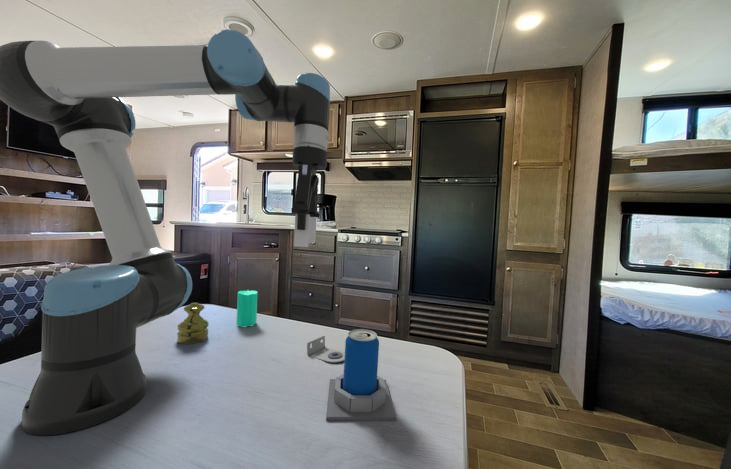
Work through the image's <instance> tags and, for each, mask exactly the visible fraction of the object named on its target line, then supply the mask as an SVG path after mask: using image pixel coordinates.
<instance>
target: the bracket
mask: <svg viewBox="0 0 731 469" xmlns="http://www.w3.org/2000/svg"><path fill="white" fill-rule="evenodd" d="M325 338H326V336H325V335H322V336H319V337H317V338H315V339H312V340H310V341H308V342H307V343H306V353H307V355H310V354H313V353H315V352H317V351H319V350H321V349H323V348H325V347H326V341H325V340H326V339H325ZM313 358H315V359H316V360H319V361H322V362H327V363H332V364H333V363H334V364H335V363H336V364H337V363H341V362H344V360H345V351H343V350H342V351H341V350H337V349H334V348H329V349H328V350H325V351H323V352H321V353H319V355H316V356H314V357H313Z"/></svg>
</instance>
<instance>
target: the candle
mask: <svg viewBox="0 0 731 469" xmlns="http://www.w3.org/2000/svg"><path fill="white" fill-rule="evenodd" d="M258 294H259V291H257V290H239V291H237V300H236V301H237V303H236V304H237V305H236V322H235V323H236V324H237V325H238V326H237V325H236V326H237V327H239V326H250V327H252V326H251V325H253V326H255V325H256V324H257V316H258V298H259V297H258V296H259V295H258ZM255 323H256V324H255ZM254 324H255V325H254Z"/></svg>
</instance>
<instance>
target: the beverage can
mask: <svg viewBox="0 0 731 469" xmlns="http://www.w3.org/2000/svg"><path fill="white" fill-rule="evenodd" d="M379 350H380V340H379V338H378V334H377V333H376V332H375V331H373V330H369V329H366V328H365V329H364V328H360V329H359V328H358V329H357V328H356V329H353V330H350V331H348V333H347V336H346V338H345V346H344V352H345V360H344V361H343V362H344V363H343V374H344V377H343V390H344V391H346V392H348V393H349V394H351V395H365V396H370V395H372V394H373V393H375V392H376V387H377V376H378V370H379V369H378V368H379V354H380V353H379Z"/></svg>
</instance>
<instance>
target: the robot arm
mask: <svg viewBox="0 0 731 469" xmlns="http://www.w3.org/2000/svg"><path fill="white" fill-rule="evenodd" d="M206 95H208V96H209V95H222V96H223V95H224V96H225V95H228V96H229V95H230V96H231V95H232V96H233V95H234V98H235V104H236V109H237V110H238V112H239V115H240V116H241V117H242V118H243V119H246V120H252V121H257V122H276V123H277V122H279V123H282V122H283V123H293V136H292V138H293V139H292V145H293V146H292V147H294V148H293V149H292V166H293V167H295V168H296V169H298V174H297V180H296V181H297V183H296V187H295V188H296V189H295V194H294V196H295V197H294V202H293V207H291V209H290V210H291V214H294V216H295V217H294V238H293V239H294V240H293V247H294V248H295V247H297V248H309V244H316V239H317V238H316V237H317V236H316V235H317V220H318V219H317V218H320V216H321V214H320V212H319V213H318V192H319V182H320V181H319V180H320V179H319V177H318V174H317V171H323V170H325V169H326V168H327V166H328V152H327V150H328V141H331V139H332V138H331V135H329V126H330V125H329V124H330V123H329V122H330V108H331V86H330V83H329V81H328V80H327V79H326V78H325V77H324V76H322V75H320V74H318V73H314V72H305V73H300V74H299V75H298V76H297V77H296V80H295V83H294V84H290V85H288V84H278V83H276V81H275V79H274V78H273V76H272V74H271V73H270V71H269V69H268V68H267V66H266V63H265V61H264V58H263V55H261V53H260V51H259V50H258V49H257V48H256V46H255V45H254V43H253V42H252V41H251V39H250V38H249V37H248V36H247V35H246V34H244V33H243V32H241V31H238V30H236V29H232V28H231V29H230V28H228V29H227V28H226V29H221V31H220V32H218V33H215V34H214V35H212V37H210V39H209V41H208V44H200V45H196V44H195V45H188V44H187V45H142V46H134V45H133V46H130V45H129V46H83V47H82V46H81V47H80V46H79V47H77V46H75V47H68V46H67V47H60V46H58V45H57V44H56V43H52V42H51V41H48V40H19V41H11V42H7V43H5V44H2V45H0V100H1V101H2V102H3V103H4V104H6V106H8V107H9V108H11V109H12V110H14V111H16V113H17V112H18V113H19V114H21V115H24V116H25V117H28V118H31V119H34V120H36V121H39V122H42V123H45V124H48V125H50V126H53V128H54V130H55V133H56V134H57V138H58V140H59V143H60V145H61V146H62V147H63V148H65V149H67V150H69V151H70V152H73V154H74V155H75V158H76V161H77V164H78V166H79V169H80V172H81V175H82V178H83V181H84V183H85V185H86V188H87V191H88V195H89V197H90V200H91V203H92V206H93V208H94V210H95V213H96V216H97V219H98V222H99V225H100V227H101V230H102V233H103V235H104V238H105V241H106V245H107V247H108V250H109V252H110V255H111V261H110V262H109V263H108V265H107V264H106V265H97V266H93V267H92V266H91V267H90V266H88V267H83V268H78V269H73V270H69V271H66V272H62V273H60V274H57V275H56V276H53V277H52V278H50V279H49V280H48V281H47V282H46V284H45V285H44V292H43V293H44V294H43V299H42V300H41V301H42V302H41V305H40V309H41V354H40V355H41V359H40V360H41V362H40V372H39V374H38V376H37V379H36V381H35V382H34V384H33V387H32V389H31V392H30V394H29V397H28V400H27V401H26V402H25V404H24V406H23V409H22V412H21V428H22V430H23V431H24V432H26V433H28V434H30V435H34V436H35V435H36V436H53V435H60V434H61V435H62V434H66V433H73V432H77V431H79V430H83V429H87V428H91V427H93V426H96V425H98V424H101V423H104V422H106V421H109V420H111V419H113V418H115V417H117V416H119V415H121V414H123V413H124V412H126V411H128V410H129V409H131V408H132V407H134V406H135V405H136V404H137V403H139V402H140V400H141V399H142V398H143V397H144V396H145V394H146V390H147V376H146V375H145V373H144V372H143V371H144V370H143V368H142V366H141V365H142V364H141V363H140V360H139V357H138V355H137V353H136V345H137V344H136V343H137V342H136V341H137V328H140V327H142V326H144V325H147V324H150V323H151V322H153V321H156V320H158V319H161V318H163V317H166V316H169V315H171V314H172V313H173V312H175V311H177V310H178V309H180V308H181V307H182V306H184V305H185V303H186V302H188V300H189V297H190V296H191V294H192V290H193V279H192V276H191V273H190V272H189V270H188V269H187V268H186V267H184V266H183V265H181V264H179V263H176V262H175V259H174V256H173V254H172V251H170V250H168V249H166V248H163V247H162V245H161V244H160V243H161V242H160V241H159V238H158V236H157V232H156V229H155V227H154V224H153V221H152V219H151V215H150V213H149V210H148V207H147V203H146V202H145V198H144V196H143V192H142V190H141V188H140V184H139V182H138V179H137V176H136V173H135V170H134V168H133V165H132V164H133V163H132V162H131V159H130V156H129V154H128V151H127V149H128V147H130V145H132V137H133V135H134V132H133V131H134V130H135V129H136V117H135V115H134V113H133V110H132V109H131V107H130V106H129V105H128V103H127V102H125V101H124V100H123V99H122V98H137V97H139V98H140V97H141V98H142V97H173V96H174V97H175V96H176V97H177V96H206Z"/></svg>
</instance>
